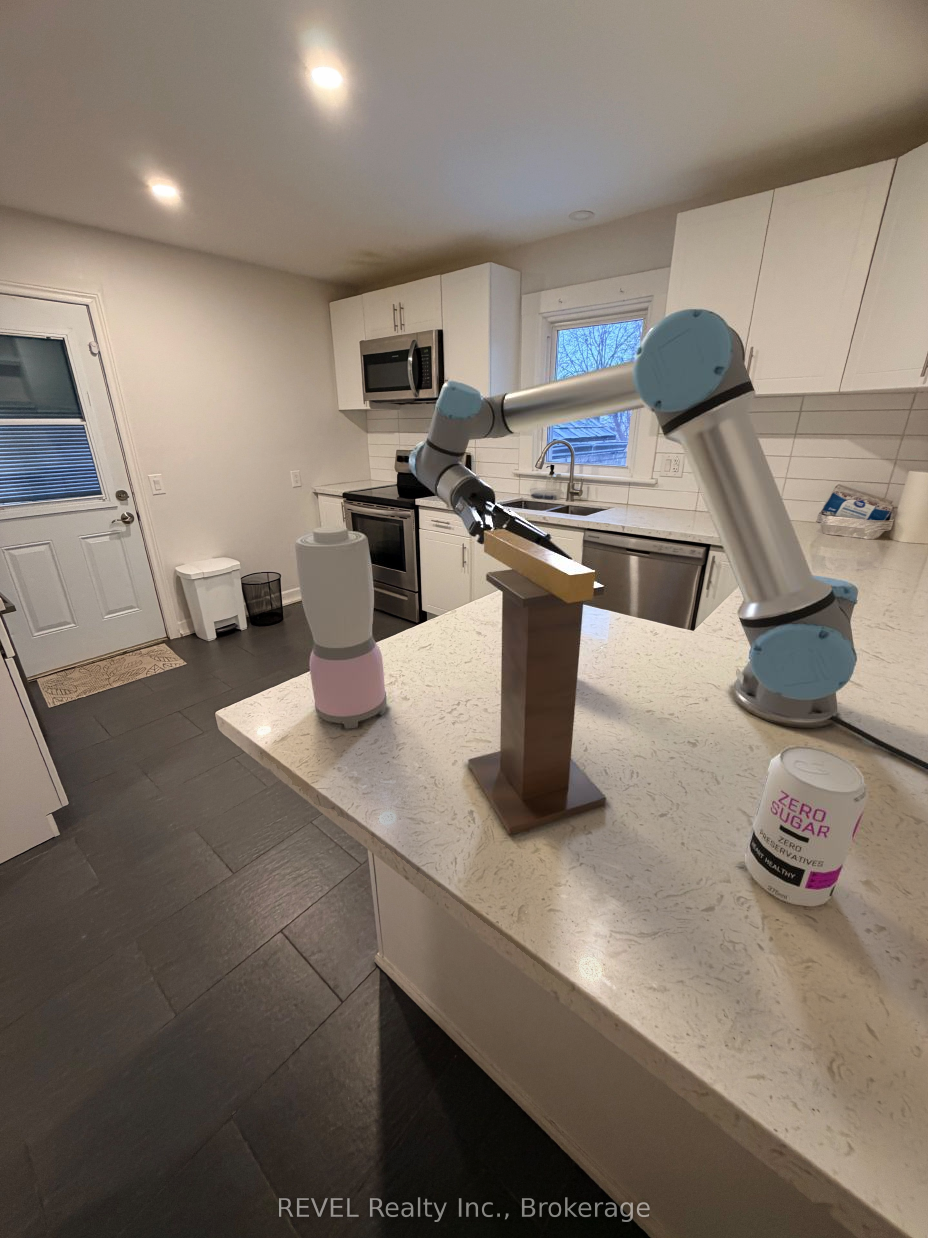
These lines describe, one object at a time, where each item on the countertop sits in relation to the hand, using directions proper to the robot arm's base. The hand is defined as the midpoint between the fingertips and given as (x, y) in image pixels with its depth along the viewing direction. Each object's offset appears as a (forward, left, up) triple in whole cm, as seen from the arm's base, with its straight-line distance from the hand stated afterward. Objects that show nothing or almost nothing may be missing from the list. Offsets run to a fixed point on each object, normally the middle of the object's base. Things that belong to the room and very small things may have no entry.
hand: (544, 561), depth 78 cm
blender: (+28, +20, -26) cm, 43 cm away
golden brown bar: (-6, +18, +4) cm, 19 cm away
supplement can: (-39, +18, -26) cm, 50 cm away
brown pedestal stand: (-9, +20, -26) cm, 34 cm away
